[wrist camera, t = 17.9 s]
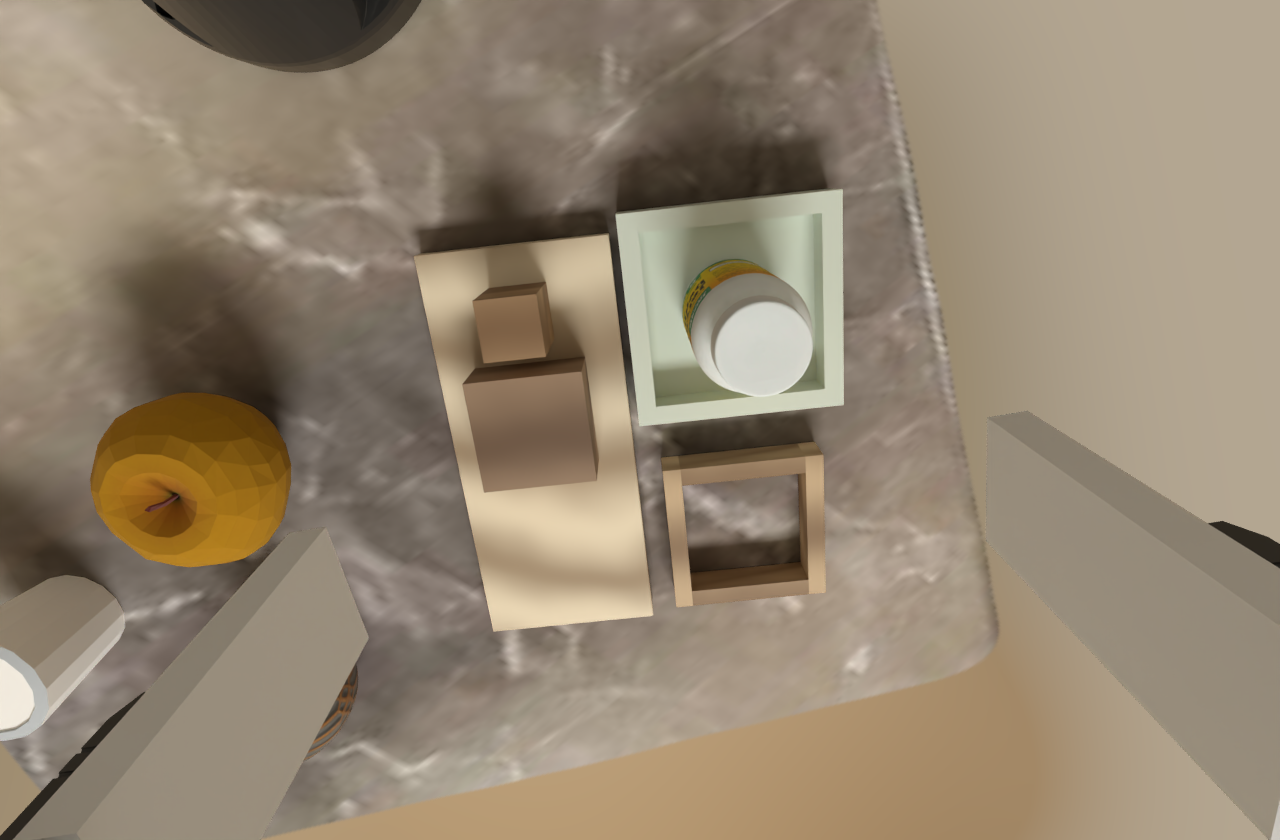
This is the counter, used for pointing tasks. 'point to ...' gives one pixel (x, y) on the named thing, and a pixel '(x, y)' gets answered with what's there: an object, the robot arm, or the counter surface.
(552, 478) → the walnut block
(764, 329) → the supplement bottle
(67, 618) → the white cylinder
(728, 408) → the tray
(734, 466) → the oak collar
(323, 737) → the vase
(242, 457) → the apple
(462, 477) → the board
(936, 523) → the counter surface
